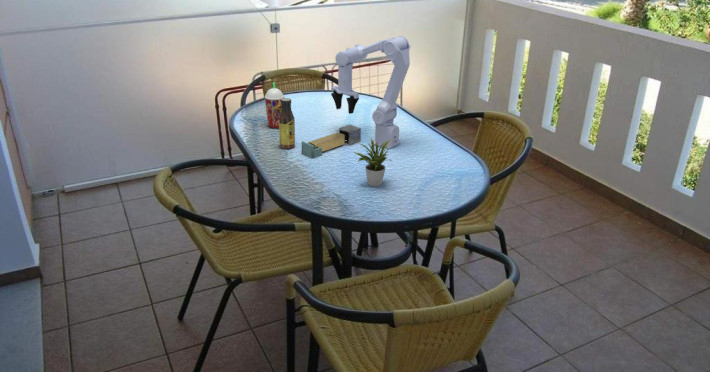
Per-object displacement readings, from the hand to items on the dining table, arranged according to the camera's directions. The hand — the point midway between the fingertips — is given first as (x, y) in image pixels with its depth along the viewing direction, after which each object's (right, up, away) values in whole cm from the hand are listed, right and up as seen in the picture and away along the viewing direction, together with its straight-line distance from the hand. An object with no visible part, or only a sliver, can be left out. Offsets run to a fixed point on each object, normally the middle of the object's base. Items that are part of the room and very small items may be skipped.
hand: (344, 111), depth 253 cm
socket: (-13, -19, -18) cm, 29 cm away
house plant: (+12, -30, -40) cm, 51 cm away
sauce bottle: (-23, -16, -11) cm, 30 cm away
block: (-7, -16, -13) cm, 22 cm away
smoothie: (-31, -6, +10) cm, 33 cm away
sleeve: (+2, -13, -5) cm, 14 cm away
